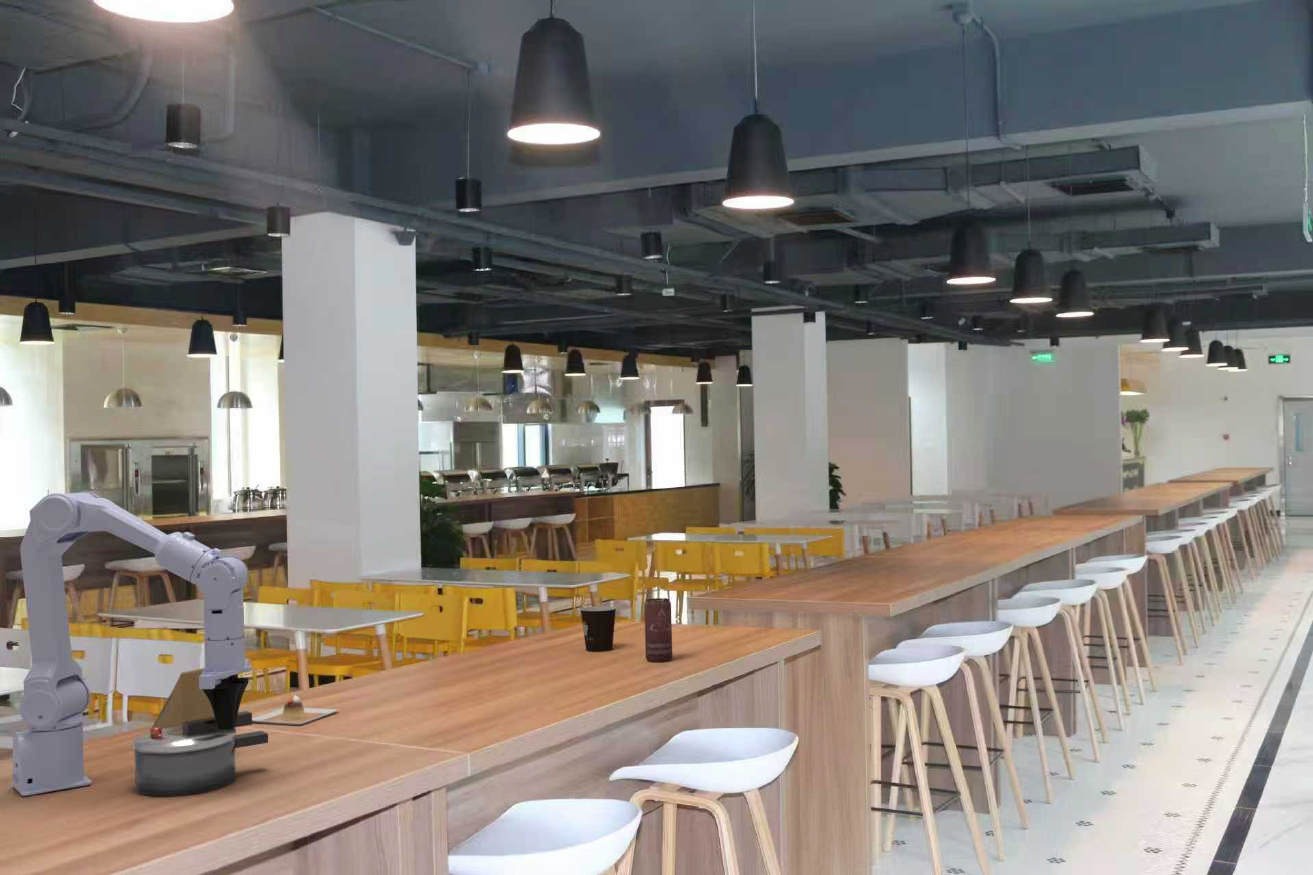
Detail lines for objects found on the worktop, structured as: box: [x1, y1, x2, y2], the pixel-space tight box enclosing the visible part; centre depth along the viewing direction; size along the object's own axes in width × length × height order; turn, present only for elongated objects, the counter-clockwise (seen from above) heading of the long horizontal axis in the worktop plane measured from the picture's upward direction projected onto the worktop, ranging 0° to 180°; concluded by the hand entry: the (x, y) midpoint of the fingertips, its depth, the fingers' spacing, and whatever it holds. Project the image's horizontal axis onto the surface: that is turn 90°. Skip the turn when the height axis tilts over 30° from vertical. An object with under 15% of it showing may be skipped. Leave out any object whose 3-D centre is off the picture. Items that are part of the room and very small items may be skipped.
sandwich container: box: [151, 667, 215, 729], centre depth 200 cm, size 9×15×15 cm, turn 51°
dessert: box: [252, 694, 340, 726], centre depth 226 cm, size 12×12×5 cm
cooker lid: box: [132, 710, 253, 754], centre depth 182 cm, size 17×14×3 cm
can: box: [643, 597, 673, 663], centre depth 277 cm, size 6×6×14 cm
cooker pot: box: [134, 730, 269, 798], centre depth 182 cm, size 19×14×6 cm
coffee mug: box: [580, 606, 617, 653], centre depth 296 cm, size 12×9×10 cm
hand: (226, 728), depth 182 cm, fingers closed
